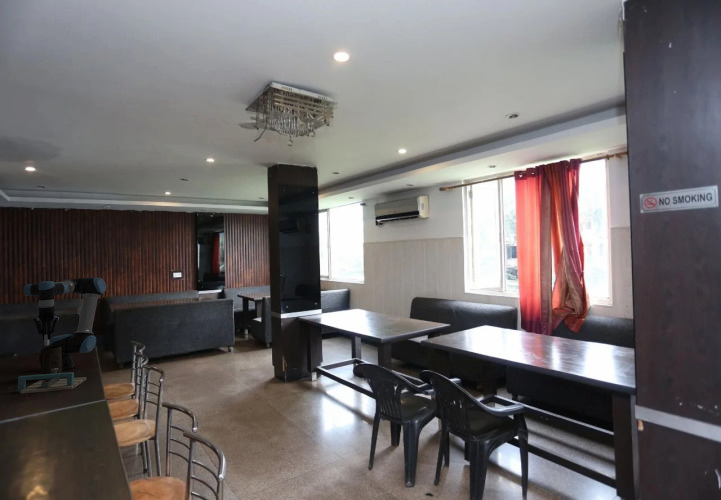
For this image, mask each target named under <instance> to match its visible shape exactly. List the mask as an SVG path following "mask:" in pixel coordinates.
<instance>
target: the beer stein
mask: <svg viewBox="0 0 721 500" xmlns="http://www.w3.org/2000/svg"><path fill="white" fill-rule="evenodd" d="M61 349H62V348H61V346H51V347H50V346H47V347H46V346H45V347H43V348H42V349H40V353H39V356H38V357H39V359H38V360H39V365H40V370H39V371H40V373H41V374H40V375H42V374H53V371H51V369H54V368H58V370H57V373H63V370H62V355H61ZM43 380H46V379H40V381H43Z"/></svg>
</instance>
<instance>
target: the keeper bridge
mask: <svg viewBox="0 0 721 500" xmlns="http://www.w3.org/2000/svg"><path fill="white" fill-rule="evenodd" d="M49 378H59V379H63V378H66V379H67V386H70V385H73V384H74V378H75V372H73V371H72V372H62V373H55V374H42V375H41V374H30V375H20V376H18V377H17V393H20V392H21V390H23V389H25V388H27V386H26V385H27V384H26V382H27V381H33V380H41V379H49Z"/></svg>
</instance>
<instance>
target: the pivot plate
mask: <svg viewBox="0 0 721 500" xmlns="http://www.w3.org/2000/svg"><path fill="white" fill-rule="evenodd" d="M57 370H58V368H54V369H51V371H53V374H55V373H57ZM86 380H87V377H86V376H85V377H74V384H73V385H70V386H67V378H59V381H57V382H55V383H53V384H52V385H50V386H49V387H43V388H42V382H43V381H45V380H38V381H36V382H35V383H32V384H31V385H29V386H26V387H25V389H23V390H21V392H19V393H20V394H21V395H22V394H31V393H43V392H54V391H69V390H73V389H75V388H76V387H77V386H79V385H81V384H82V383H83V382H85V381H86Z"/></svg>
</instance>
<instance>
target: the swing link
mask: <svg viewBox="0 0 721 500" xmlns="http://www.w3.org/2000/svg"><path fill="white" fill-rule="evenodd" d="M59 379H60V378H49V379H46V380H45V381H43V380H42V381H43V382H42V388H43V387H49V386H50V385H52V384H53V383H55V382H57V381H59Z"/></svg>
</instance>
